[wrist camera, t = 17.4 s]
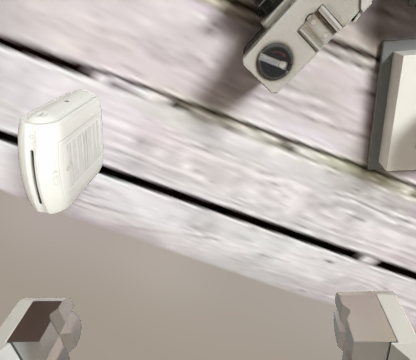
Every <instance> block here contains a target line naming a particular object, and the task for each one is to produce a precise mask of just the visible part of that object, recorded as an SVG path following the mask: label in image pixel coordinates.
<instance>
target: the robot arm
mask: <svg viewBox="0 0 416 360" xmlns="http://www.w3.org/2000/svg"><path fill="white" fill-rule="evenodd" d="M335 304H336V307H337V310H336V311H335V312H334V331H335V336H336V341H337V344H338V347H339V348H340V349H341V350H342V351H343V356H342V360H416V333H415V331H414V329H413V327H412V325H411V323H410V321H409V319H408V317H407V316H406V314H405V312H404V310H403V308H402V306H401V304H400V302H399V300H398V298H397V296H396V294H395V293H394V292H393V291H374V292H372V291H366V292H337V293H336V296H335ZM73 307H74V304H73V302H72V300H71V298H23V299H21V300H20V301H18V303H17V304H16V306H15V307H14V308H13V310H12V311H11V313H10V314H9V316H8V317H7V318H6V320H5V321H4V323H3V324H2V325H1V327H0V360H70V357H69V352H70V351H71V350H72V349H74V347H76V345H77V343H78V341H79V339H80V334H81V320H80V318H79V315H77V314H76V313H75V312H73V311H72V309H73Z"/></svg>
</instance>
